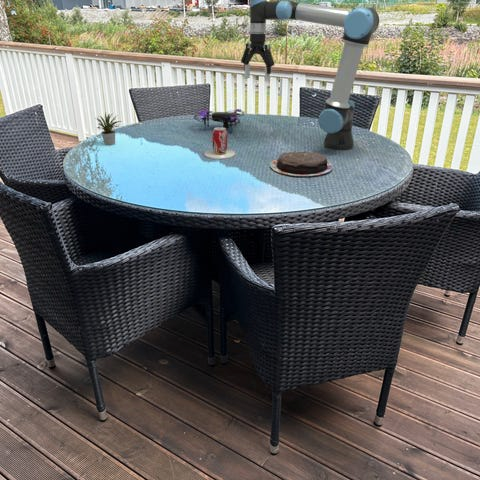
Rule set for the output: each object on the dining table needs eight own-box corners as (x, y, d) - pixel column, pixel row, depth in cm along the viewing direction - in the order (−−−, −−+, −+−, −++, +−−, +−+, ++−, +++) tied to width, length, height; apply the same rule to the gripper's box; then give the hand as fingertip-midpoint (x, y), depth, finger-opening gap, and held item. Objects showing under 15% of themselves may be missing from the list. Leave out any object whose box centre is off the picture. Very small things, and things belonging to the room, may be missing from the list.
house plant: (106, 150, 230) (101, 117, 223) (89, 145, 238) (84, 113, 230) (128, 143, 240) (124, 112, 233) (111, 139, 248) (107, 108, 240)
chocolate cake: (259, 163, 213) (259, 149, 210) (311, 156, 223) (312, 142, 220) (288, 182, 190) (289, 167, 187) (345, 173, 200) (346, 159, 197)
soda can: (216, 156, 219) (215, 130, 213) (210, 152, 224) (210, 127, 219) (229, 154, 221) (229, 129, 216) (223, 150, 227) (223, 126, 221)
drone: (237, 121, 245) (186, 119, 248) (237, 139, 249) (187, 137, 253) (246, 106, 280) (201, 105, 283) (246, 122, 285) (201, 120, 288)
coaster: (241, 154, 223) (241, 153, 223) (218, 161, 214) (218, 159, 214) (220, 148, 233) (220, 147, 232) (197, 154, 223) (197, 153, 223)
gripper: (233, 32, 224) (234, 77, 234) (272, 34, 209) (270, 83, 219) (244, 31, 229) (244, 76, 239) (282, 33, 213) (281, 81, 223)
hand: (257, 79), depth 229 cm, fingers open, 13 cm apart
